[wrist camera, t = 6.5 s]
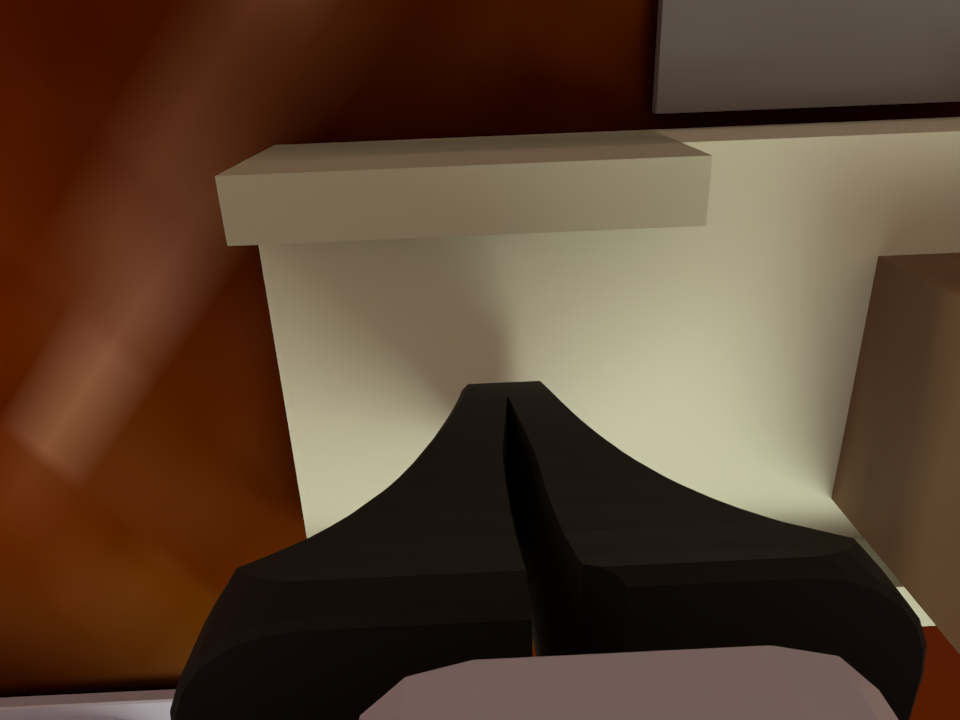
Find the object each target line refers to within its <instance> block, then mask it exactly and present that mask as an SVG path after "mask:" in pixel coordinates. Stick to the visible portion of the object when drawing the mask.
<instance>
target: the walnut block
mask: <svg viewBox="0 0 960 720" xmlns="http://www.w3.org/2000/svg"><path fill="white" fill-rule="evenodd" d="M831 499H832V500H833V501H834V503H835V504H836V505H837V506H838V507H839V509H840V510H841V511H842V512H843V513H844V515H845V516H846V517H847V518H848V520H849V521H850V522H851V523H852V524H853V526H854V527H855V528H856V529H857V530H858V532H859V533H860V534H861V535H862V536H863V538H864V539H865V540H866V541H867V543H868V544H869V545H870V546H871V547H872V549H873V550H874V551H875V552H876V553H877V555H878V556H879V557H880V558H881V559H882V561H883V562H884V563H885V564H886V566H887V567H888V568H889V569H890V570H891V572H892V573H893V574H894V575H895V576H896V578H897V579H898V580H899V581H900V583H901V584H902V585H903V586H904V587H905V589H906V590H907V591H908V592H909V593H910V595H911V596H912V597H913V598H914V599H915V601H916V602H917V603H918V604H919V606H920V607H921V608H922V609H923V610H924V612H925V613H926V614H927V615H928V616H929V618H930V619H931V620H932V621H933V622H934V624H935V625H936V626H937V627H938V629H939V630H940V631H941V632H942V633H943V635H944V636H945V637H946V638H947V639H948V641H949V642H950V643H951V644H952V645H953V647H954V648H955V649H956V650H957V652H958V653H959V654H960V253H938V254H916V255H893V256H878V260H877V265H876V271H875V276H874V281H873V286H872V291H871V296H870V301H869V307H868V312H867V317H866V322H865V327H864V332H863V338H862V343H861V348H860V353H859V358H858V363H857V368H856V374H855V379H854V384H853V389H852V394H851V399H850V405H849V410H848V415H847V420H846V425H845V430H844V435H843V441H842V446H841V451H840V456H839V461H838V466H837V471H836V477H835V482H834V487H833V492H832V497H831Z"/></svg>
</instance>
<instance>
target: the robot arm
mask: <svg viewBox="0 0 960 720" xmlns="http://www.w3.org/2000/svg"><path fill="white" fill-rule="evenodd" d="M532 637H533V642H534V647H535V653H536V657H532ZM926 645H927V644H926V640H925V637H924V633H923V629H922V625H921V621H920V618H919V617H918V616H917V614H916V613H915V612H914V610H913V609H912V608H911V606H910V605H909V604H908V602H907V601H906V600H905V598H904V597H903V596H902V595H901V593H900V592H899V591H898V589H897V588H896V587H895V586H894V584H893V583H892V582H891V580H890V579H889V578H888V577H887V575H886V574H885V573H884V571H883V570H882V569H881V568H880V567H879V565H878V564H877V563H876V562H875V561H874V560H873V559H872V558H871V556H870V555H869V554H868V553H867V552H866V551H865V550H864V548H863V547H862V546H861V545H860V544H859V543H858V542H857V541H856V540H855V539H854V538H850V537H846V536H842V535H837V534H833V533H829V532H825V531H820V530H816V529H812V528H807V527H803V526H799V525H795V524H790V523H786V522H782V521H779V520H775V519H772V518H769V517H766V516H762V515H759V514H756V513H753V512H750V511H747V510H744V509H740V508H737V507H735V506H732V505H729V504H727V503H724V502H721V501H719V500H716V499H713V498H711V497H709V496H706V495H704V494H702V493H699V492H697V491H695V490H692V489H690V488H688V487H686V486H683V485H681V484H679V483H677V482H675V481H673V480H671V479H669V478H667V477H665V476H663V475H661V474H659V473H658V472H656V471H654V470H652V469H651V468H649V467H647V466H645V465H644V464H642V463H640V462H638V461H636V460H635V459H633V458H632V457H630V456H629V455H627V454H625V453H624V452H622V451H621V450H620V449H618V448H617V447H615V446H614V445H613V444H611V443H610V442H609V441H607V440H606V439H604V438H603V437H602V436H600V435H599V434H598V433H596V432H595V431H594V430H593V429H591V428H590V427H589V426H588V425H587V424H585V423H584V422H583V421H582V420H581V419H580V418H578V417H577V416H576V415H575V414H574V413H573V412H572V411H571V410H570V409H569V408H568V407H567V406H565V405H564V404H563V403H562V402H561V401H560V400H559V399H558V398H557V397H556V396H555V395H554V394H553V393H552V392H551V391H550V390H549V389H548V388H547V387H546V386H545V385H544V384H543V383H542V382H541V381H525V382H503V383H480V384H468V385H467V386H466V387H465V388H464V389H463V390H462V391H461V394H460V396H459V399H458V401H457V403H456V404H455V406H454V408H453V410H452V411H451V413H450V415H449V416H448V418H447V419H446V421H445V422H444V424H443V425H442V427H441V428H440V430H439V431H438V433H437V434H436V436H435V437H434V438H433V440H432V441H431V442H430V443H429V444H428V446H427V447H426V448H425V449H424V450H423V452H422V453H421V454H420V455H419V456H418V458H417V459H416V460H415V461H414V462H413V463H412V465H411V466H410V467H409V468H408V469H407V470H406V471H405V472H404V473H403V474H402V475H401V476H400V477H399V478H398V479H397V480H396V481H394V482H393V483H392V484H391V485H390V486H389V487H388V488H386V489H385V490H384V491H382V492H381V493H380V494H378V495H377V496H375V497H374V498H373V499H371V500H370V501H369V502H367V503H366V504H364V505H363V506H362V507H360V508H359V509H357V510H356V511H355V512H353V513H352V514H350V515H349V516H347V517H345V518H344V519H342V520H340V521H339V522H337V523H335V524H333V525H332V526H330V527H328V528H326V529H324V530H323V531H321V532H319V533H317V534H315V535H313V536H311V537H309V538H307V539H305V540H303V541H301V542H299V543H297V544H295V545H293V546H290V547H288V548H285V549H283V550H281V551H278V552H276V553H273V554H271V555H269V556H266V557H264V558H261V559H259V560H257V561H254V562H252V563H249V564H246V565H244V566H241V567H238V568H237V569H236V570H235V572H234V574H233V576H232V577H231V579H230V581H229V583H228V584H227V586H226V587H225V589H224V591H223V592H222V594H221V595H220V597H219V598H218V600H217V602H216V603H215V605H214V607H213V609H212V611H211V612H210V614H209V616H208V618H207V620H206V622H205V623H204V625H203V628H202V630H201V632H200V634H199V636H198V639H197V641H196V643H195V645H194V648H193V650H192V652H191V654H190V657H189V659H188V661H187V663H186V666H185V668H184V670H183V672H182V675H181V677H180V679H179V682H178V684H177V687H176V689H169V690H148V691H127V692H107V693H86V694H65V695H44V696H24V697H3V698H0V720H909V719H910V716H911V713H912V709H913V706H914V702H915V699H916V695H917V692H918V689H919V685H920V682H921V678H922V675H923V671H924V663H925V654H926Z"/></svg>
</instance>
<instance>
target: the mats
mask: <svg viewBox="0 0 960 720" xmlns="http://www.w3.org/2000/svg"><path fill="white" fill-rule="evenodd" d="M959 101H960V0H659V1H658V19H657V36H656V53H655V70H654V87H653V105H652V113H655V114H666V113H691V112H715V111H739V110H764V109H788V108H813V107H837V106H861V105H886V104H910V103H935V102H959Z"/></svg>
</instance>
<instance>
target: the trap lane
mask: <svg viewBox="0 0 960 720" xmlns="http://www.w3.org/2000/svg"><path fill="white" fill-rule="evenodd" d="M215 181H216V187H217V192H218V198H219V203H220V208H221V214H222V219H223V225H224V230H225V236H226V241H227V246H242V245H258V246H259V252H260V258H261V264H262V270H263V276H264V282H265V288H266V294H267V300H268V306H269V312H270V318H271V324H272V330H273V336H274V342H275V348H276V354H277V360H278V366H279V372H280V378H281V384H282V390H283V396H284V402H285V408H286V415H287V421H288V427H289V433H290V439H291V445H292V451H293V457H294V463H295V469H296V475H297V481H298V487H299V493H300V499H301V505H302V511H303V517H304V523H305V529H306V535H307V538H309V537H311V536H313V535H315V534H317V533H319V532H321V531H323V530H324V529H326V528H328V527H330V526H332V525H333V524H335V523H337V522H339V521H340V520H342V519H344V518H345V517H347V516H349V515H350V514H352V513H353V512H355V511H356V510H357V509H359V508H360V507H362V506H363V505H364V504H366V503H367V502H369V501H370V500H371V499H373V498H374V497H375V496H377V495H378V494H380V493H381V492H382V491H384V490H385V489H386V488H388V487H389V486H390V485H391V484H392V483H393V482H394V481H396V480H397V479H398V478H399V477H400V476H401V475H402V474H403V473H404V472H405V471H406V470H407V469H408V468H409V467H410V466H411V465H412V463H413V462H414V461H415V460H416V459H417V458H418V456H419V455H420V454H421V453H422V452H423V450H424V449H425V448H426V447H427V446H428V444H429V443H430V442H431V441H432V440H433V438H434V437H435V436H436V434H437V433H438V431H439V430H440V428H441V427H442V425H443V424H444V422H445V421H446V419H447V418H448V416H449V415H450V413H451V411H452V410H453V408H454V406H455V404H456V403H457V401H458V399H459V396H460V394H461V391H462V390H463V389H464V388H465V387H466V386H467V385H468V384H480V383H503V382H525V381H541V382H542V383H543V384H544V385H545V386H546V387H547V388H548V389H549V390H550V391H551V392H552V393H553V394H554V395H555V396H556V397H557V398H558V399H559V400H560V401H561V402H562V403H563V404H564V405H565V406H567V407H568V408H569V409H570V410H571V411H572V412H573V413H574V414H575V415H576V416H577V417H578V418H580V419H581V420H582V421H583V422H584V423H585V424H587V425H588V426H589V427H590V428H591V429H593V430H594V431H595V432H596V433H598V434H599V435H600V436H602V437H603V438H604V439H606V440H607V441H609V442H610V443H611V444H613V445H614V446H615V447H617V448H618V449H620V450H621V451H622V452H624V453H625V454H627V455H629V456H630V457H632V458H633V459H635V460H636V461H638V462H640V463H642V464H644V465H645V466H647V467H649V468H651V469H652V470H654V471H656V472H658V473H659V474H661V475H663V476H665V477H667V478H669V479H671V480H673V481H675V482H677V483H679V484H681V485H683V486H686V487H688V488H690V489H692V490H695V491H697V492H699V493H702V494H704V495H706V496H709V497H711V498H713V499H716V500H719V501H721V502H724V503H727V504H729V505H732V506H735V507H737V508H740V509H744V510H747V511H750V512H753V513H756V514H759V515H762V516H766V517H769V518H772V519H775V520H779V521H782V522H786V523H790V524H795V525H799V526H803V527H807V528H812V529H816V530H820V531H825V532H829V533H833V534H837V535H842V536H846V537H850V538H854V539H855V540H856V541H857V542H858V543H859V544H860V545H861V546H862V547H863V548H864V550H865V551H866V552H867V553H868V554H869V555H870V556H871V558H872V559H873V560H874V561H875V562H876V563H877V564H878V565H879V567H880V568H881V569H882V570H883V571H884V573H885V574H886V575H887V577H888V578H889V579H890V580H891V582H892V583H893V584H894V586H895V587H896V588H897V589H898V591H899V592H900V593H901V595H902V596H903V597H904V598H905V600H906V601H907V602H908V604H909V605H910V606H911V608H912V609H913V610H914V612H915V613H916V614H917V616H918V617H919V618H920V621H921V625H922V626H936V625H935V624H934V622H933V621H932V620H931V619H930V618H929V616H928V615H927V614H926V613H925V612H924V610H923V609H922V608H921V607H920V606H919V604H918V603H917V602H916V601H915V599H914V598H913V597H912V596H911V595H910V593H909V592H908V591H907V590H906V589H905V587H904V586H903V585H902V584H901V583H900V581H899V580H898V579H897V578H896V576H895V575H894V574H893V573H892V572H891V570H890V569H889V568H888V567H887V566H886V564H885V563H884V562H883V561H882V559H881V558H880V557H879V556H878V555H877V553H876V552H875V551H874V550H873V549H872V547H871V546H870V545H869V544H868V543H867V541H866V540H865V539H864V538H863V536H862V535H861V534H860V533H859V532H858V530H857V529H856V528H855V527H854V526H853V524H852V523H851V522H850V521H849V520H848V518H847V517H846V516H845V515H844V513H843V512H842V511H841V510H840V509H839V507H838V506H837V505H836V504H835V503H834V501H833V500H832V499H831V497H832V492H833V487H834V482H835V477H836V471H837V466H838V461H839V456H840V451H841V446H842V441H843V435H844V430H845V425H846V420H847V415H848V410H849V405H850V399H851V394H852V389H853V384H854V379H855V374H856V368H857V363H858V358H859V353H860V348H861V343H862V338H863V332H864V327H865V322H866V317H867V312H868V307H869V301H870V296H871V291H872V286H873V281H874V276H875V271H876V265H877V260H878V256H893V255H916V254H938V253H960V117H944V118H919V119H895V120H871V121H847V122H822V123H798V124H774V125H749V126H725V127H701V128H676V129H652V130H628V131H604V132H579V133H555V134H531V135H506V136H482V137H458V138H434V139H409V140H385V141H361V142H336V143H312V144H288V145H274V146H272V147H270V148H268V149H266V150H264V151H262V152H260V153H258V154H256V155H254V156H252V157H250V158H249V159H247V160H245V161H243V162H241V163H239V164H237V165H235V166H233V167H231V168H229V169H227V170H225V171H224V172H222V173H220V174H218V175H216V176H215Z"/></svg>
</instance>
